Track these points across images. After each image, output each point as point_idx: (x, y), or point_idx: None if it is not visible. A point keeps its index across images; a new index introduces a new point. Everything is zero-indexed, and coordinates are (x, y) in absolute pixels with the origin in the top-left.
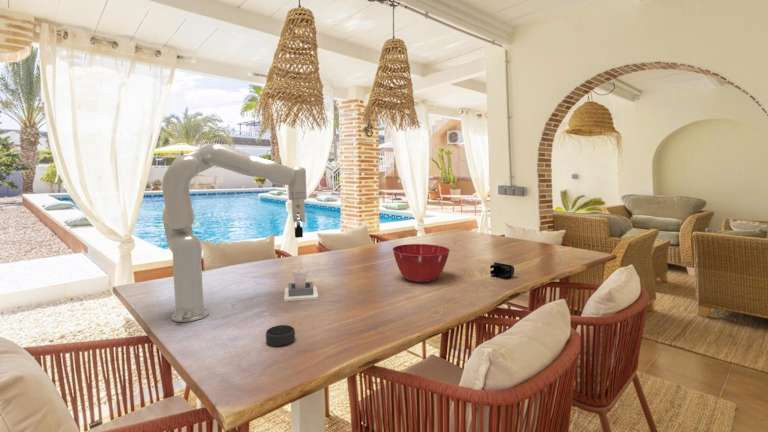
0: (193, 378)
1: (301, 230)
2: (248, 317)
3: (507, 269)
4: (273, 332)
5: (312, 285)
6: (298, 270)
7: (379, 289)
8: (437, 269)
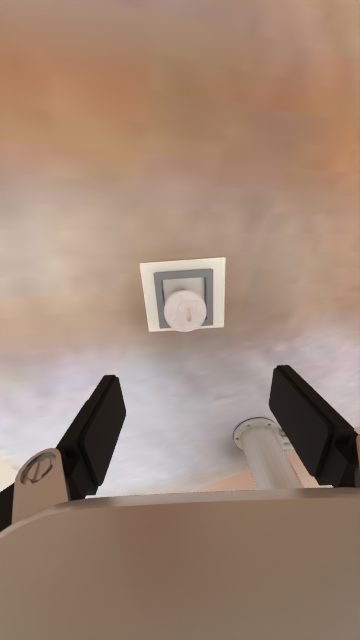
0: None
1: (326, 412)
2: None
3: None
4: None
5: (188, 272)
6: (185, 316)
7: (173, 39)
8: None
